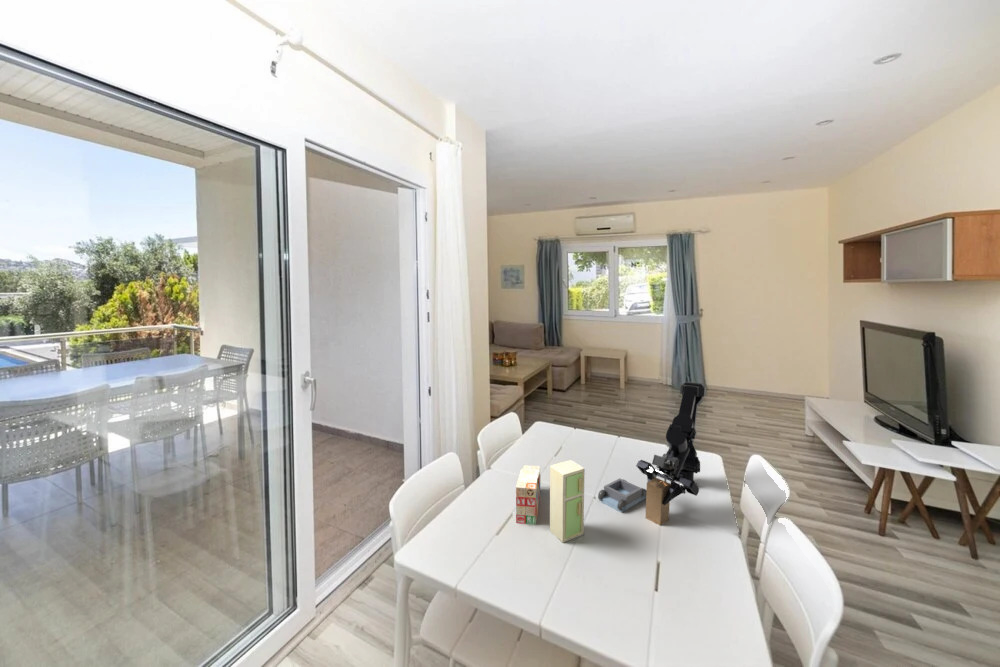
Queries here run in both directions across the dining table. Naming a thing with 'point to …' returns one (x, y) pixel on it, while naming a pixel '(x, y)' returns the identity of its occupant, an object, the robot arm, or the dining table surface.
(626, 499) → the chassis
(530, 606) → the dining table surface
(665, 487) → the tall tan wooden block
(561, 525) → the toy refrigerator
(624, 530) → the dining table surface
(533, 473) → the stack of blocks
